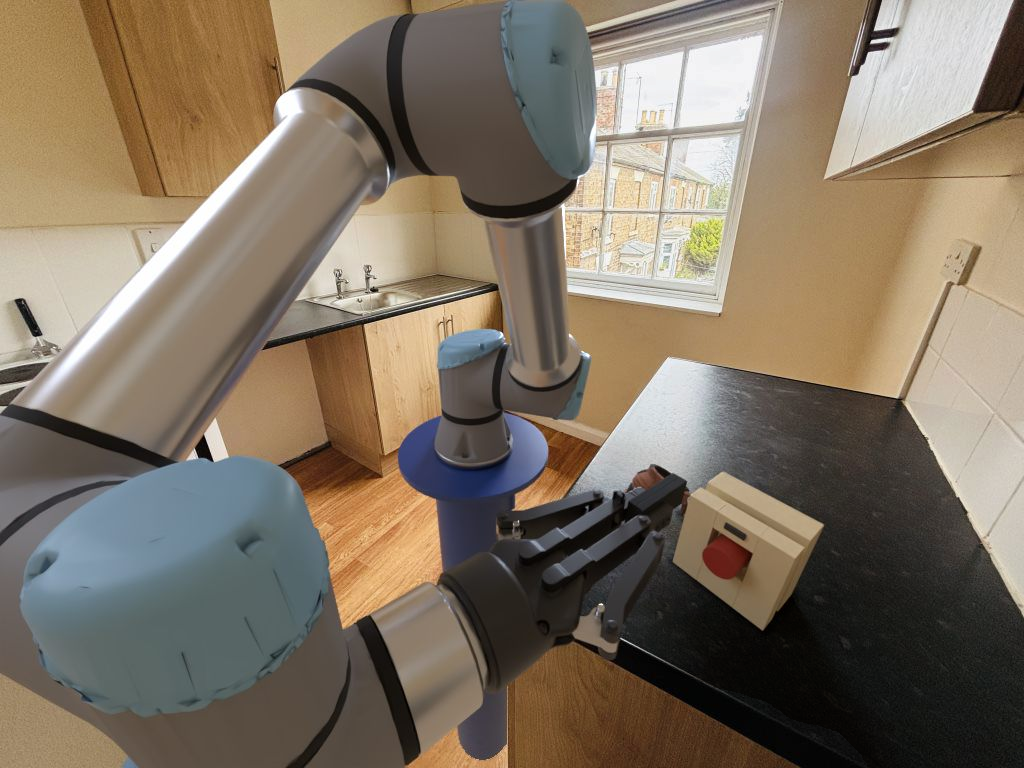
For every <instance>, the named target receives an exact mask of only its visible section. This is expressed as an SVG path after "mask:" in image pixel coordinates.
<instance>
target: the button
mask: <svg viewBox="0 0 1024 768" xmlns="http://www.w3.org/2000/svg"><path fill="white" fill-rule="evenodd" d="M702 558H703V561H704V563H705V565H706V567H707V568H708V569H709V570H710V571H711V572H712V573H713V574H714V575H716V576H717V577H719V578H722V579H726V580H729V579H732V578H734V577H735V576H736V575H737V574H738V573H739V572H740V571H741V569H742V568H743V567H744V566H745V565H746V564H747V563H748V562H749V561H750V560H751V558H752V552H750V551H749V550H747V549H745V548H744V547H742V546H741V545H739V544H738V543H736V542H735V541H733V540H731V539H730V538H728V537H727V536H725V535H724V534H721V535H719V536H718V537H717V538H716V539H715V540H714V541H713V542H712V543H710V544H709V545H708V546H707V547H706V548H705V549H704V550H703V553H702Z"/></svg>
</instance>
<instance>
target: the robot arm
mask: <svg viewBox="0 0 1024 768" xmlns="http://www.w3.org/2000/svg"><path fill="white" fill-rule="evenodd" d="M589 37H590V36H589V33H588V30H587V27H586V24H585V21H584V20H583V17H582V15H581V14H580V12H579V11H578V9H577V8H576V7H574V5H572V4H571V3H569V2H568V1H565V0H499V1H492V2H486V3H485V2H484V3H480V4H472V5H466V6H458V7H453V8H447V9H438V10H433V11H425V12H419V13H402V14H395V15H390V16H386V17H384V18H382V19H379V20H376V21H374V22H372V23H370V24H369V25H366V26H365V27H363V28H361V29H359V30H358V31H356V32H354V33H353V34H351V35H350V36H348V37H347V38H346V39H344V40H343V41H342V42H340V43H339V44H338V45H336V46H335V47H334V48H332V49H331V50H329V51H328V52H327V53H326V54H324V56H322V57H321V58H320V59H319V60H317V62H316V63H314V64H313V65H312V66H311V67H309V69H307V70H306V71H305V72H304V73H303V74H301V76H299V77H298V78H297V80H296V81H295V82H294V83H292V85H291V86H290V87H289V88H287V89H286V91H284V92H283V94H281V96H280V97H279V98H278V99H277V101H276V102H275V105H274V108H273V115H272V117H273V119H272V120H273V126H274V127H273V129H272V130H271V132H270V133H268V135H267V136H266V137H264V138H263V140H261V142H260V143H259V144H258V145H257V146H256V147H255V148H254V149H253V150H252V151H251V152H250V153H249V154H248V155H247V156H246V157H245V158H244V159H243V160H242V162H241V163H240V164H239V165H238V166H236V168H235V169H234V170H233V171H232V172H230V174H229V175H228V176H227V177H226V178H225V179H224V180H223V181H222V182H221V183H220V184H219V185H218V187H217V188H216V189H215V190H214V191H213V192H212V193H210V195H209V196H207V198H206V199H205V200H204V201H203V202H202V203H201V204H200V205H199V206H198V207H197V208H196V209H195V210H194V211H193V212H192V214H190V215H189V217H187V218H186V220H185V221H184V222H183V223H182V224H181V225H180V226H179V227H178V228H176V230H175V231H174V232H173V233H172V234H171V235H170V236H169V237H168V239H166V240H165V242H163V244H162V245H160V247H159V248H158V249H157V250H155V252H154V253H153V254H152V255H151V256H150V257H149V258H148V259H147V260H146V261H145V262H144V264H143V265H141V267H140V268H138V270H137V271H136V272H135V273H134V274H133V275H131V277H130V278H129V279H128V280H127V281H126V282H125V283H124V284H123V285H122V286H121V287H120V288H119V289H118V290H117V292H116V293H114V294H113V295H112V297H110V299H109V300H108V301H107V302H106V303H105V304H104V305H103V306H102V307H101V308H100V309H99V310H98V311H97V312H96V313H95V315H93V316H92V317H91V318H90V320H89V321H88V322H86V323H85V325H83V326H82V328H80V330H79V331H78V332H77V333H76V334H75V335H74V336H73V337H72V338H71V339H70V340H69V341H68V342H67V343H66V344H65V345H64V346H63V348H62V349H60V351H59V352H57V354H56V355H55V356H54V357H52V359H51V360H50V361H49V362H48V363H47V364H46V365H45V366H44V367H43V368H42V369H41V371H39V373H38V374H37V375H35V377H34V378H33V379H32V380H31V381H30V382H29V383H28V384H27V385H26V386H25V387H24V388H23V389H22V390H21V391H20V392H19V393H18V394H17V396H16V397H15V398H13V399H12V400H11V402H10V403H9V404H8V405H7V406H6V407H5V408H4V409H3V410H2V411H1V412H0V674H1V675H3V676H4V677H6V678H8V679H9V680H11V681H13V682H14V683H17V684H18V685H20V686H22V687H23V688H25V689H27V690H29V691H31V692H32V693H34V694H36V695H37V696H39V697H41V698H43V699H45V700H46V701H48V702H50V703H52V704H54V705H55V706H58V707H59V708H61V709H62V710H64V711H66V712H68V713H69V714H71V715H74V716H75V717H77V718H79V719H81V720H83V721H85V722H86V723H88V724H90V725H91V726H93V727H94V728H96V729H97V730H98V731H100V733H103V734H104V735H105V736H106V737H107V738H109V739H110V740H111V741H112V742H113V743H115V744H116V745H117V747H119V749H121V751H123V753H124V754H125V755H126V756H127V757H126V758H125V760H124V761H123V762H122V764H121V766H120V768H407V766H409V765H410V764H412V763H413V762H415V761H416V760H417V759H418V758H419V757H421V756H422V755H424V754H426V752H427V751H428V750H430V749H431V748H433V746H435V745H436V744H437V743H439V741H441V740H442V739H444V737H445V736H447V735H449V733H450V732H452V731H453V730H454V729H456V728H457V726H458V725H459V724H460V723H462V722H463V721H464V720H465V719H466V718H468V717H469V716H470V715H471V714H473V713H474V712H475V711H476V710H478V709H479V708H480V707H481V705H482V703H483V698H484V692H486V693H489V694H490V693H492V694H498V693H499V692H500V691H501V690H503V689H504V688H505V687H506V686H508V685H509V684H510V683H511V682H512V683H513V682H514V681H515V680H517V678H519V677H520V676H521V675H522V674H524V673H525V672H526V671H528V670H529V669H530V668H531V667H533V666H534V665H535V664H536V663H537V662H538V661H539V660H540V659H542V658H543V656H545V654H546V653H548V652H549V651H550V650H553V649H555V648H559V647H566V646H569V645H570V644H573V642H574V641H575V640H579V641H581V642H584V643H587V644H590V645H593V646H595V647H597V650H598V653H599V656H601V658H603V659H604V660H607V661H613V660H615V659H616V658H617V656H618V653H619V647H620V642H621V637H622V633H623V626H624V624H625V622H626V620H627V619H628V618H629V615H630V614H631V612H632V611H633V609H634V607H635V606H636V604H637V602H638V601H639V599H640V597H641V596H642V595H643V592H644V590H645V589H646V587H647V586H648V584H649V583H650V580H651V579H652V577H653V575H654V574H655V572H656V571H657V569H658V567H659V565H660V563H661V560H662V557H663V552H664V549H665V548H664V547H665V543H666V536H665V535H664V534H663V533H661V531H662V530H664V529H665V528H667V527H668V526H669V525H670V524H671V521H672V517H673V512H674V510H675V509H677V508H679V507H680V506H682V500H683V496H684V492H685V489H686V486H688V485H687V484H688V480H686V479H685V478H683V477H681V476H679V475H678V474H676V473H674V472H671V473H672V474H670V475H669V476H667V477H666V478H664V479H662V480H661V481H659V482H658V483H656V484H655V485H653V486H651V487H650V488H648V489H647V490H645V489H644V488H642V487H638V488H635V489H633V490H632V491H630V492H628V493H627V494H625V493H624V491H622V490H613V492H612V498H611V497H610V498H609V497H607V496H605V493H604V491H602V490H601V489H598V488H593V489H589V490H586V491H583V492H580V493H576V494H572V495H569V496H566V497H563V498H559V499H555V500H553V501H549V502H546V503H542V504H540V505H536V506H534V507H529V508H526V509H519V510H517V509H515V510H514V509H513V510H512V511H500V512H498V513H497V515H496V539H497V542H495V543H494V544H493V545H492V547H491V548H490V550H489V551H488V552H479V553H476V554H475V555H473V556H471V557H469V558H468V559H466V560H464V561H462V562H461V563H459V564H457V565H455V566H453V567H452V568H450V569H448V570H446V571H445V572H443V571H442V572H441V573H440V574H439V577H438V579H437V581H436V584H435V583H433V582H431V581H424V582H422V583H420V584H419V585H417V586H415V587H413V588H412V589H410V590H408V591H406V592H404V593H403V594H401V595H399V596H398V597H396V598H394V599H393V600H391V601H389V602H388V603H386V604H384V605H382V606H381V607H379V608H377V609H376V610H374V611H372V612H370V613H369V614H366V615H365V616H363V617H361V618H359V619H358V620H357V619H356V622H353V623H352V624H350V625H348V626H347V627H345V628H344V627H343V624H342V619H341V616H340V612H339V607H338V603H337V599H336V594H335V590H334V586H333V582H332V578H331V572H330V569H329V567H330V565H331V563H330V559H329V556H328V555H329V552H328V550H327V545H326V541H325V540H323V539H322V537H321V533H320V530H319V528H317V527H315V525H314V522H313V519H312V517H311V513H310V511H309V507H308V505H307V502H306V498H305V496H304V493H303V490H302V488H301V486H300V485H299V483H298V481H297V480H296V479H295V478H294V477H293V476H292V475H291V474H290V473H289V472H288V471H287V470H285V469H284V468H282V467H281V466H279V465H278V464H275V463H274V462H271V461H268V460H266V459H264V458H259V457H253V456H248V455H247V456H246V455H232V456H228V457H226V458H223V459H220V460H217V461H211V460H209V459H207V458H206V457H198V458H193V459H188V458H189V457H190V455H191V454H192V453H193V452H194V449H195V448H196V447H197V445H198V444H199V442H200V441H201V440H202V438H203V437H204V436H205V433H206V432H207V430H209V428H210V427H211V425H212V423H213V422H214V420H215V419H216V418H217V416H218V414H219V413H220V412H221V410H222V409H223V407H224V405H225V404H226V403H227V401H228V400H229V398H230V396H231V395H232V394H233V393H234V391H236V389H237V387H238V385H239V384H240V383H241V381H242V379H243V378H244V376H245V375H246V373H247V372H248V370H249V369H250V368H251V366H252V365H253V363H254V362H255V361H256V359H257V358H258V356H259V354H260V353H261V352H262V350H263V349H264V347H265V346H266V344H267V343H268V341H269V340H270V338H271V337H272V335H273V334H274V333H275V331H276V330H277V328H278V326H279V325H280V324H281V322H282V321H283V319H284V318H285V317H286V315H287V314H288V312H289V311H290V309H291V308H292V307H293V305H294V303H295V302H296V301H297V299H298V297H299V296H300V295H301V293H302V292H303V290H304V289H305V287H306V286H307V284H308V283H309V282H310V280H311V279H312V277H313V275H314V274H315V272H317V270H318V269H319V267H320V265H321V264H322V262H324V260H325V258H326V256H327V255H328V253H329V252H330V251H331V249H332V248H333V246H334V245H335V243H336V242H337V240H338V239H339V238H340V236H341V235H342V233H343V232H344V230H345V229H346V227H347V226H348V224H350V222H351V220H352V219H353V217H354V216H355V215H356V213H357V211H358V210H359V208H360V207H361V206H369V205H372V204H374V203H375V204H376V202H379V200H380V199H382V197H383V196H384V195H385V194H386V192H387V191H388V189H389V188H390V186H391V185H392V184H393V183H395V182H398V181H400V180H402V179H407V178H411V177H418V176H429V177H454V178H455V179H456V180H457V183H458V188H459V191H460V195H461V198H462V202H463V204H464V206H465V208H466V209H467V210H468V211H469V212H470V213H471V214H473V215H474V216H476V217H478V218H481V219H482V222H483V226H484V229H485V235H486V238H487V243H488V248H489V252H490V257H491V260H492V265H493V270H494V273H495V277H496V278H495V279H496V282H497V286H498V291H499V296H500V300H501V304H502V309H503V312H504V316H505V322H506V326H507V330H508V334H509V339H510V343H507V342H506V338H505V336H504V334H503V332H502V331H498V330H496V329H492V328H479V329H470V330H465V331H460V332H457V333H453V334H451V335H450V336H447V337H446V338H444V339H443V340H442V341H440V343H439V345H438V347H437V364H436V369H437V373H438V374H437V375H438V386H439V387H438V388H439V397H440V398H439V399H440V409H441V415H442V416H441V415H440V416H441V419H440V423H439V426H438V430H437V434H436V437H435V441H434V446H435V454H436V456H437V458H438V459H439V460H440V461H441V462H442V463H443V464H445V465H447V466H449V467H451V468H454V469H458V470H464V471H478V470H485V469H489V468H492V467H495V466H497V465H499V464H501V463H502V462H504V461H505V460H506V459H507V458H508V457H509V456H510V455H511V453H512V449H513V437H512V433H511V431H510V428H509V425H508V423H507V420H506V417H505V415H504V413H505V412H504V411H508V412H514V413H520V414H525V415H531V416H537V417H542V418H549V419H552V420H553V421H558V420H562V421H574V420H576V419H577V418H578V417H579V415H580V411H581V407H582V403H583V399H584V394H585V391H586V385H587V382H588V377H589V373H590V368H591V363H592V356H591V354H590V353H587V352H585V351H582V350H581V349H580V346H579V343H578V341H577V339H575V337H574V336H573V335H571V333H570V320H569V319H570V317H569V316H570V315H569V294H568V273H567V272H568V271H567V249H566V248H567V246H566V245H567V244H566V227H565V224H566V223H565V204H566V203H567V202H568V201H570V199H571V198H572V197H573V195H574V194H575V193H576V191H577V189H578V185H579V178H580V177H583V176H585V175H586V174H588V173H589V172H590V171H591V168H592V166H593V163H594V159H595V153H596V146H597V145H596V144H597V119H596V118H597V115H598V99H597V98H598V97H597V86H596V85H597V82H596V72H595V63H594V57H593V51H592V46H591V41H590V38H589ZM623 522H624V524H623ZM631 557H632V559H631V560H630V561H629V563H628V565H627V566H626V567H625V569H624V571H623V572H622V573H621V574H620V576H619V577H618V579H617V581H616V582H615V583H614V585H613V587H612V588H611V590H610V592H609V593H608V596H607V598H606V600H605V604H603V603H598V604H597V605H596V606H595V607H593V608H592V609H591V610H590V612H589V613H588V614H586V615H582V611H583V605H584V599H585V595H588V593H589V592H590V591H591V590H592V588H593V586H594V585H595V584H596V583H598V582H599V581H600V580H602V579H603V578H604V577H606V576H607V575H609V574H610V573H611V572H613V571H614V570H615V569H617V568H618V567H620V565H622V564H623V563H624V562H627V560H629V559H630V558H631Z"/></svg>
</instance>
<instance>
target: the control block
mask: <svg viewBox="0 0 1024 768" xmlns="http://www.w3.org/2000/svg"><path fill="white" fill-rule="evenodd" d="M690 494H691V495H690V497H689V498H688V506H687V509H686V513H685V514H684V516H683V517H684V518H683V521H682V524H681V528H680V532H679V536H678V540H677V544H676V546H675V547H676V548H675V551H674V555H673V559H672V563H673V564H675V565H676V566H677V567H679V568H680V569H681V570H683V571H684V572H685V573H686V574H688V575H689V576H690V577H691V578H693V579H694V580H696V581H697V582H698V583H699V584H701V585H702V586H703V587H705V588H706V589H707V590H709V591H710V592H711V593H713V594H714V595H715V596H716V597H718V598H719V599H721V600H722V601H723V602H724V603H725V604H727V605H728V606H729V607H731V608H732V609H733V610H735V612H737V613H739V614H740V615H741V616H743V617H744V618H745V619H747V620H748V621H749V622H750V623H752V624H753V625H754V626H755V627H757V628H758V629H759V630H761V631H764V630H765V629H766V627H767V626H768V625H769V624H770V622H771V621H772V620H773V618H774V616H775V614H776V612H779V611H780V609H782V607H783V606H784V604H785V603H786V602H787V601H788V599H789V598H790V597H791V596H792V594H793V592H794V590H795V588H796V586H797V583H798V581H799V579H800V577H801V575H802V573H803V571H804V569H805V567H806V565H807V563H808V561H809V558H810V557H811V554H812V552H813V550H814V548H815V546H816V544H817V541H818V539H819V537H820V536H821V533H822V531H823V529H824V527H825V524H824V523H822V522H820V521H818V520H816V519H814V518H813V517H811V516H809V515H807V514H805V513H803V512H801V511H799V510H797V509H795V508H794V507H792V506H789V505H787V504H786V503H784V502H782V501H780V500H778V499H777V498H775V497H772V496H771V495H768V494H767V493H765V492H763V491H761V490H759V489H758V488H756V487H755V486H752V485H750V484H748V483H746V482H744V481H742V480H740V479H738V478H736V477H734V476H733V475H731V474H729V473H727V472H725V471H722V472H720V473H719V474H717V475H716V476H714V477H713V478H711V479H710V480H709V481H707V483H706V486H705V488H703V487H699V488H698V489H696V490H695V491H694V492H692V493H690ZM721 534H724V535H725V536H727V537H728V538H730V539H731V540H733V541H735V542H736V543H738V544H739V545H741V546H742V547H744V548H745V549H747V550H749V551H750V552H752V558H751V560H750V561H749V562H748V563H747V564H746V565H745V566H744V567H743V568H742V569H741V571H740V572H739V573H738V574H737V575H736V576H735V577H734V578H732V579H729V580H726V579H722V578H719V577H717V576H716V575H714V574H713V573H712V572H711V571H710V570H709V569H708V568H707V567H706V565H705V563H704V561H703V558H702V553H703V550H704V549H705V548H706V547H707V546H708V545H709V544H710V543H712V542H713V541H714V540H715V539H716V538H717V537H718V536H719V535H721Z"/></svg>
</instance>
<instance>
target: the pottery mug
mask: <svg viewBox="0 0 1024 768" xmlns="http://www.w3.org/2000/svg"><path fill="white" fill-rule="evenodd" d="M672 473H673V472H671V471H669V470H667V469H666V468H664V467H662V466H660V465H658V464H655V463H650V464H649V467H648V468H646V469H642V470H640V471H638V472H636V474H635V475H634V477H632V479H631V481H632V482H630V483H629V485H628V486H627V488H626V489H625V490H624V491H623V492H624V493H625V494H627V493H628V492H630V491H632V490H633V489H635V488H638V487H642V488H644V489H645V490H647V489H648V488H650V487H651V486H653V485H655V484H656V483H658V482H659V481H661V480H662V479H664V478H666V477H667V476H669V475H670V474H672ZM691 494H692V493H690V488H689V487H688V485H686V489H685V492H684V496H683V500H682V504H681V505H680V506H681V507H680V509H679V515H681V517H685V513H686V509H687V506H688V502H689V498H690V495H691Z"/></svg>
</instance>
